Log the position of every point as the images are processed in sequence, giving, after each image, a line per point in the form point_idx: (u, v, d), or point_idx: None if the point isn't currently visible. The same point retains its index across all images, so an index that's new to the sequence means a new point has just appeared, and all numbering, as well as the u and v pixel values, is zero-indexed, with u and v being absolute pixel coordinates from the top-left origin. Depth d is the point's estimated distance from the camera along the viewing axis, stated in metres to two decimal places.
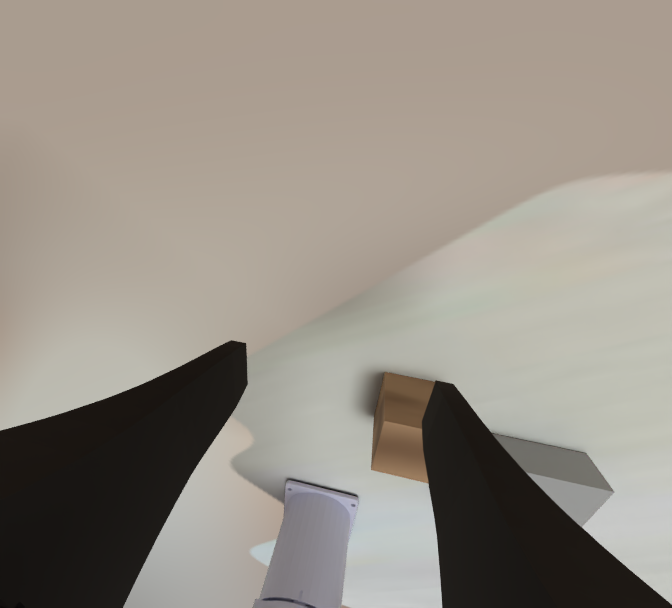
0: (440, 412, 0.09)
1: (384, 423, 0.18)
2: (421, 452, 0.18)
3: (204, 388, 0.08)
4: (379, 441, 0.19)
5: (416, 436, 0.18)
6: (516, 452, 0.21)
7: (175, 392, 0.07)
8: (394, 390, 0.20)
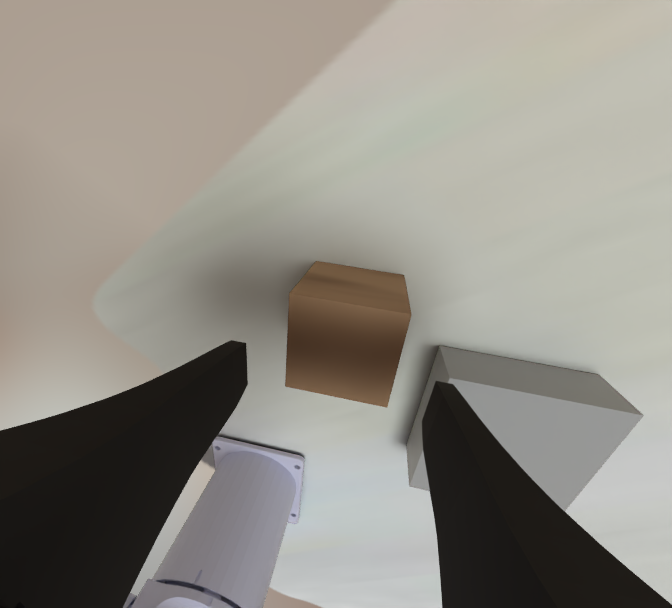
0: (440, 412, 0.09)
1: (290, 298, 0.11)
2: (350, 347, 0.12)
3: (204, 388, 0.08)
4: (288, 334, 0.12)
5: (339, 319, 0.11)
6: (500, 370, 0.15)
7: (175, 392, 0.07)
8: (322, 273, 0.14)
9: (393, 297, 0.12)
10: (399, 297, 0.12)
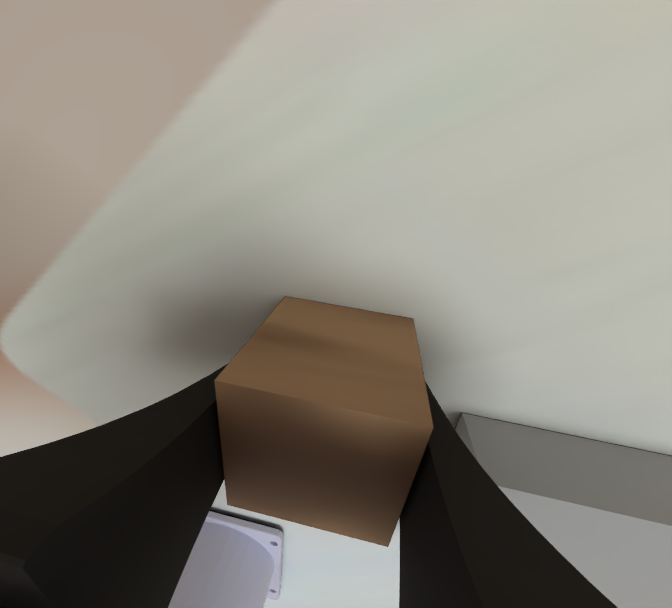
0: None
1: (217, 388, 0.06)
2: (325, 465, 0.07)
3: None
4: (222, 438, 0.07)
5: (305, 424, 0.06)
6: (556, 460, 0.10)
7: (212, 400, 0.07)
8: (287, 323, 0.09)
9: (398, 378, 0.07)
10: (409, 377, 0.07)
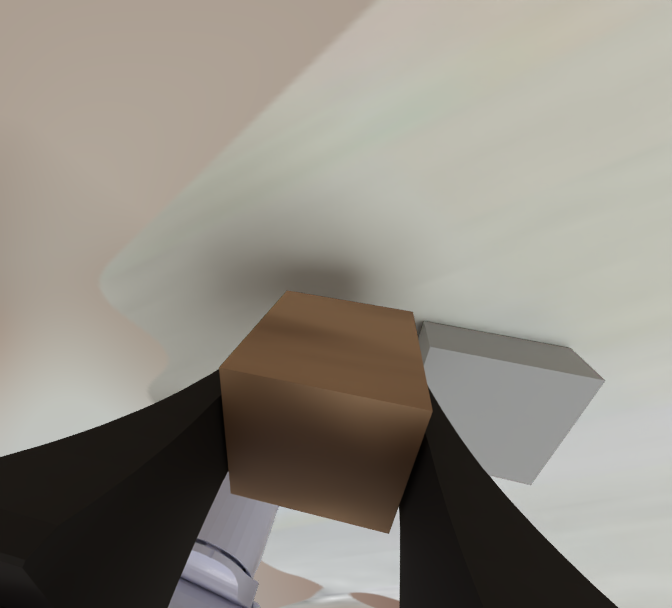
0: None
1: (222, 375, 0.07)
2: (327, 451, 0.07)
3: None
4: (226, 426, 0.07)
5: (307, 409, 0.07)
6: (478, 342, 0.16)
7: (212, 400, 0.07)
8: (289, 315, 0.09)
9: (399, 366, 0.07)
10: (408, 365, 0.07)
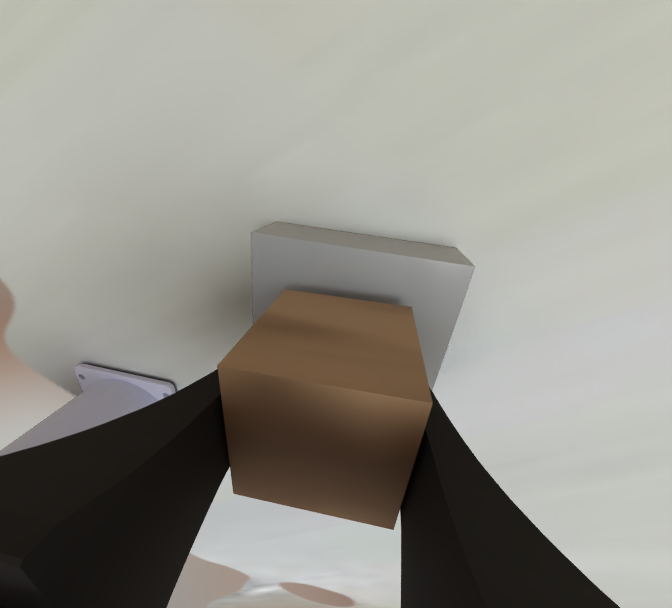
0: None
1: (220, 374, 0.07)
2: (328, 448, 0.07)
3: None
4: (227, 425, 0.07)
5: (306, 406, 0.07)
6: (330, 235, 0.12)
7: (211, 400, 0.07)
8: (287, 313, 0.09)
9: (398, 360, 0.07)
10: (408, 359, 0.07)
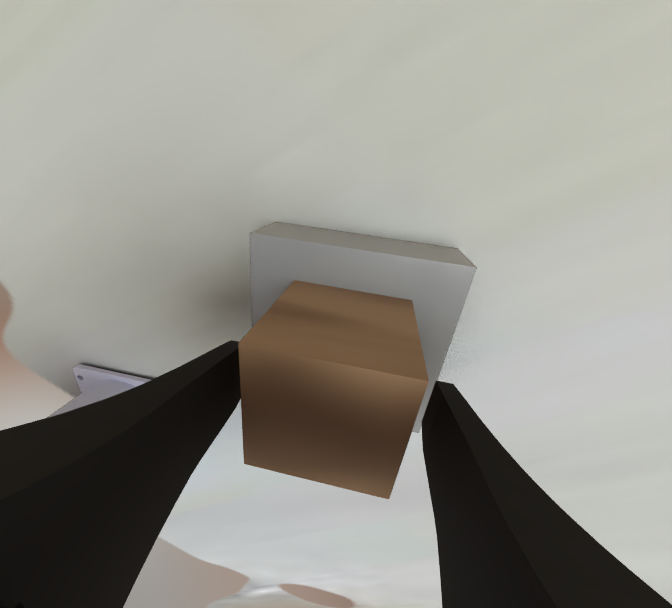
0: (440, 412, 0.09)
1: (241, 351, 0.07)
2: (334, 421, 0.08)
3: (204, 388, 0.08)
4: (243, 398, 0.08)
5: (316, 382, 0.07)
6: (329, 236, 0.12)
7: (175, 392, 0.07)
8: (298, 301, 0.10)
9: (399, 345, 0.08)
10: (408, 344, 0.08)
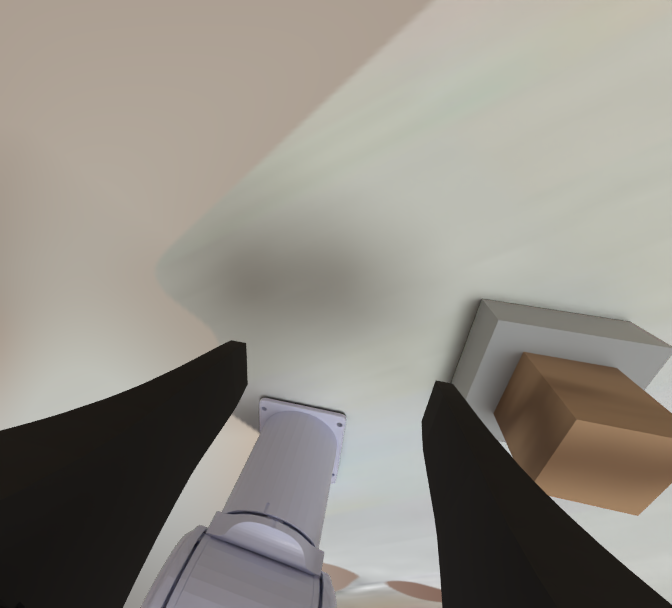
0: (440, 412, 0.09)
1: (574, 423, 0.12)
2: (622, 466, 0.12)
3: (204, 388, 0.08)
4: (556, 450, 0.12)
5: (624, 443, 0.12)
6: (541, 316, 0.17)
7: (175, 392, 0.07)
8: (555, 376, 0.14)
9: (661, 415, 0.12)
10: (665, 414, 0.12)
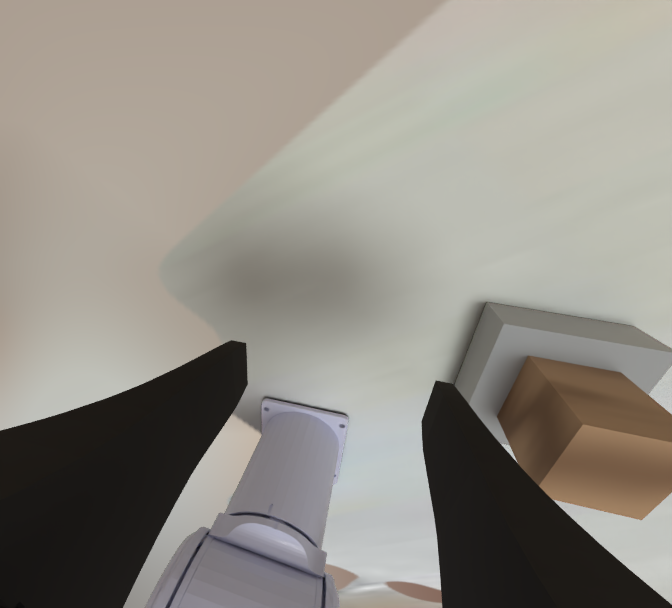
0: (440, 412, 0.09)
1: (580, 428, 0.12)
2: (627, 471, 0.12)
3: (204, 388, 0.08)
4: (561, 455, 0.12)
5: (629, 448, 0.12)
6: (546, 320, 0.17)
7: (175, 392, 0.07)
8: (560, 380, 0.14)
9: (666, 420, 0.12)
10: (670, 419, 0.12)
